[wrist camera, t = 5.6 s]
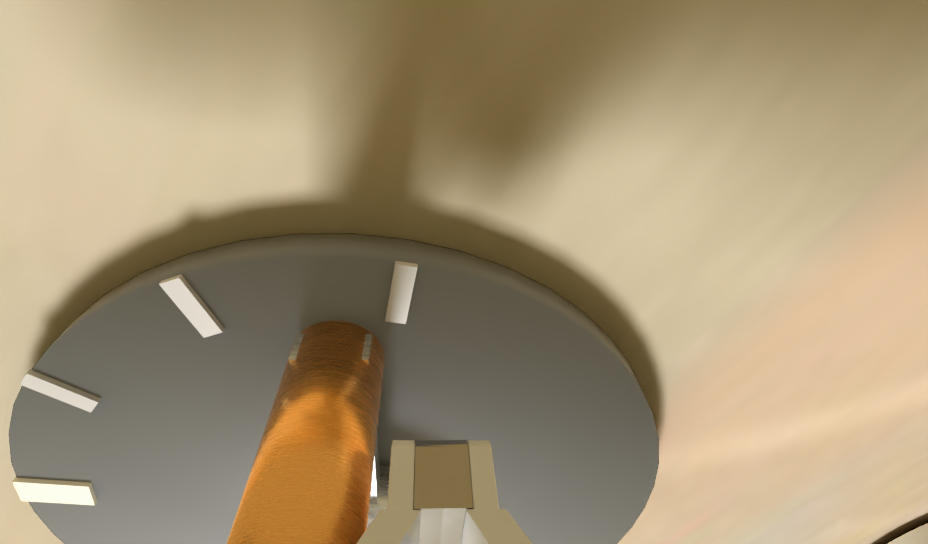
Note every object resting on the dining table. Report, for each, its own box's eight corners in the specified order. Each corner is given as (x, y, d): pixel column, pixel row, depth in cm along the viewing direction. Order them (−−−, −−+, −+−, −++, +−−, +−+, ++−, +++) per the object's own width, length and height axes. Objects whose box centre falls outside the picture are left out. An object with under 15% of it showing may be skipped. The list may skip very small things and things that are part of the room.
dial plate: (767, 298, 16) (792, 325, 15) (543, 613, 29) (547, 640, 28) (-78, 160, 12) (-131, 183, 11) (99, 600, 25) (83, 631, 24)
